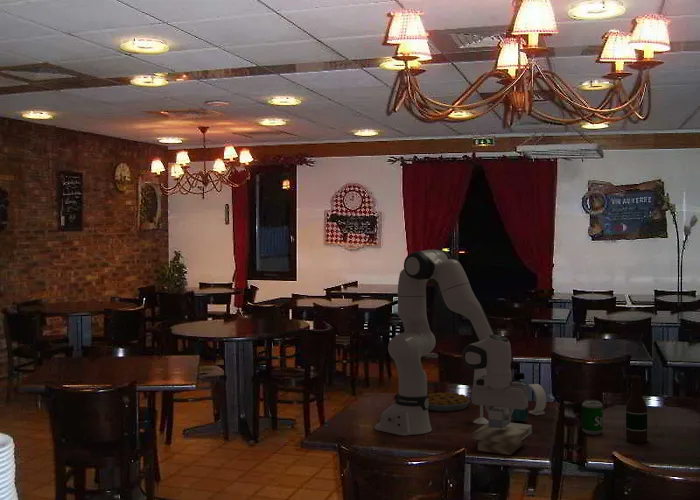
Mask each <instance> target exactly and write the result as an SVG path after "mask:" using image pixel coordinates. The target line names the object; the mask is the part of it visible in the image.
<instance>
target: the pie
mask: <svg viewBox="0 0 700 500" xmlns="http://www.w3.org/2000/svg"><path fill="white" fill-rule="evenodd" d="M427 394H428V400H429V405H428V411H429V410H430V411H433V412H457V411H461V410H465V409H467V407H468V406H469V405H468V404H470V403H471V398H470V397H469V396H468V395H465V394H463V393H461V394H459V393H458V392H454V393H453V392H449V391H445V392H441V391H437V392H436V393H433V392H429V393H427Z"/></svg>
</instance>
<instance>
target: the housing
mask: <svg viewBox="0 0 700 500" xmlns="http://www.w3.org/2000/svg"><path fill="white" fill-rule="evenodd" d="M509 412H510V411H508V408H502V407H492V408H490V410H488V413H487V418H488V421H489V423H488V424H489V427H491V428H500V429H503V428H504V427H505V426H507V425H508V424H510V423H512V422H511V421H512V419H511V420H510V421H508V420H506V415H508V414H509Z"/></svg>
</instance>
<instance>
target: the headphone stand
mask: <svg viewBox="0 0 700 500" xmlns="http://www.w3.org/2000/svg"><path fill="white" fill-rule="evenodd" d="M527 388H529V389H531V390H532V391H533V393H534V395H535V402H536V403H535V406H534V409H533V410H528V414H530V415H534V416H540V415H541V416H543V415H545V411H544V410H545V408H546V406H547V395H546V391H545V390H544V388H543V387H542V385H540V384H539V383H531V384H527Z"/></svg>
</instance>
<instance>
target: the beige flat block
mask: <svg viewBox="0 0 700 500" xmlns="http://www.w3.org/2000/svg"><path fill="white" fill-rule="evenodd" d="M507 426H508V427H516V428H524V429H528V434H527V435H525V436H524V437H523V438H521V442H522V441H524V440H525V439H526V438H527V437H529V436H530V435H531V434H532V433H533V425H532V424H526V423H517V422H511V423H510V424H508V425H507Z"/></svg>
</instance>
